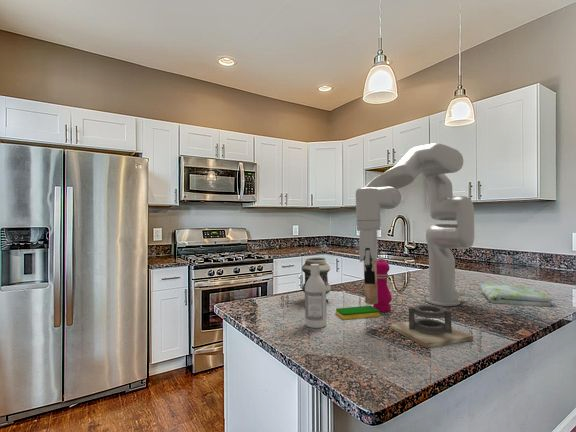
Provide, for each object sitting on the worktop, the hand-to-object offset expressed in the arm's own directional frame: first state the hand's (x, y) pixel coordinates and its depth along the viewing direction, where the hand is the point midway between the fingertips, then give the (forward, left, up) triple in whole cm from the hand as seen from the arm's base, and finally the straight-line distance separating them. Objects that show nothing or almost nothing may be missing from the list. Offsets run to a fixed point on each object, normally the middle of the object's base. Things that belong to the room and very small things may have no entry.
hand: (370, 281), depth 105 cm
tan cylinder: (0, 0, -7) cm, 7 cm away
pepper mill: (-13, -15, -15) cm, 25 cm away
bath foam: (+17, -7, -15) cm, 23 cm away
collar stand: (-12, +12, -14) cm, 23 cm away
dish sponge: (-1, -12, -15) cm, 19 cm away
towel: (-71, -9, -15) cm, 73 cm away
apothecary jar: (+6, -34, -15) cm, 37 cm away
